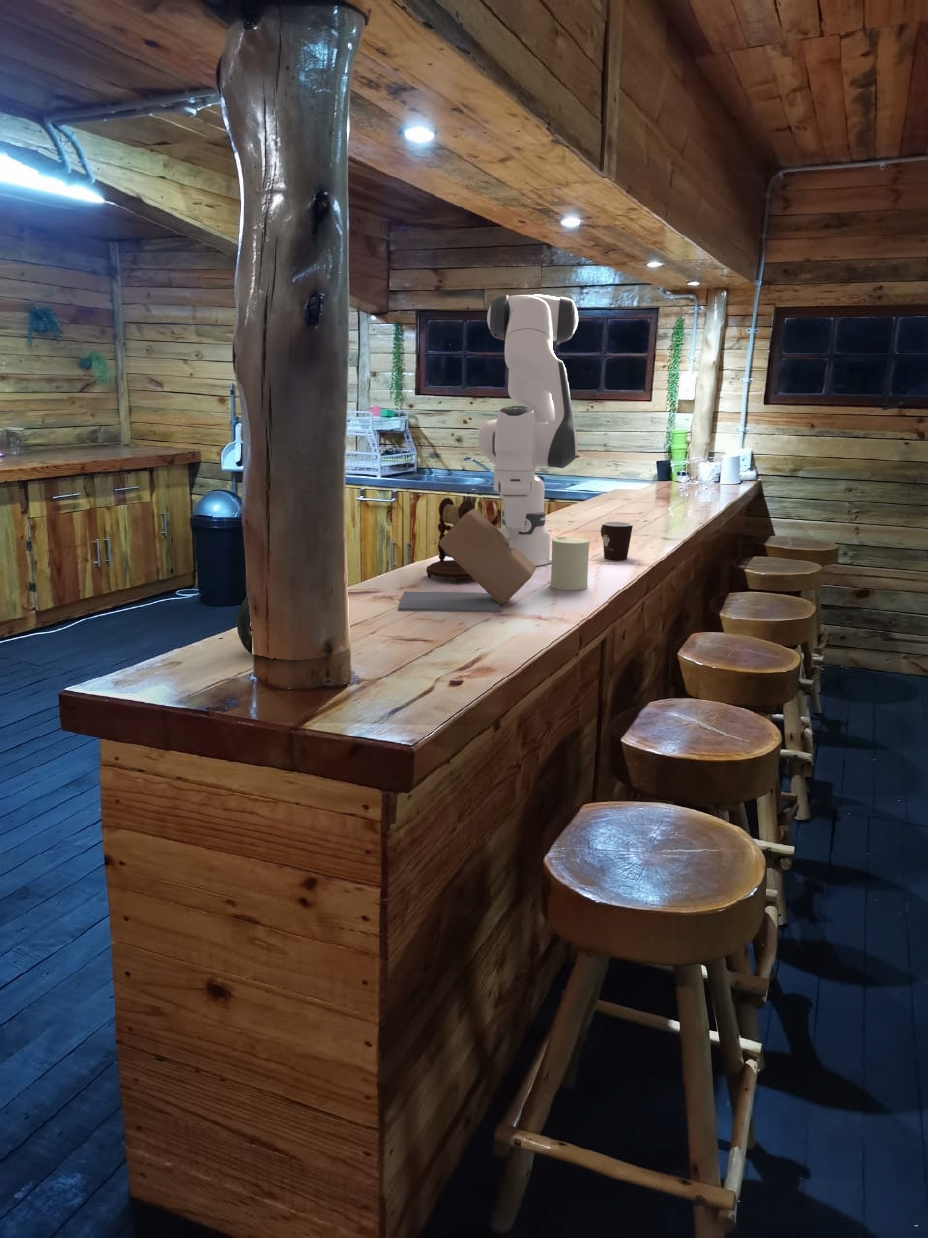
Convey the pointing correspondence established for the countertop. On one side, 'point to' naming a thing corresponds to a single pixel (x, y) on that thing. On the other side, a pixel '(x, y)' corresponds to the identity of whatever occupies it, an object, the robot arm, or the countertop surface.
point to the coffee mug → (616, 540)
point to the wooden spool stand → (447, 515)
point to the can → (569, 563)
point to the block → (487, 556)
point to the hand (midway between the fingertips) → (512, 546)
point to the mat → (448, 602)
